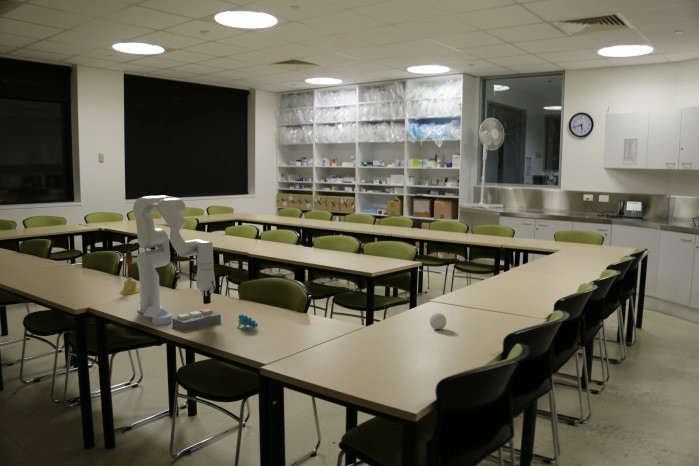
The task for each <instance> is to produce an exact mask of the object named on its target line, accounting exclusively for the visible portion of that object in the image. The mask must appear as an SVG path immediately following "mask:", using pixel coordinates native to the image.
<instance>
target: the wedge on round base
mask: <svg viewBox="0 0 699 466" xmlns="http://www.w3.org/2000/svg"><path fill="white" fill-rule="evenodd" d="M172 315H173V314H172V313H169V312H168V311H166V310H164V308H163V309H161V308H155V307H149V308H148V309H147V310H146V311H145V313H142V316H145V317H148V318H149V317H150V318H151V320H152V321H151V322H152V324H153V325H156V326H162V325H167V324H168V325H169V324H171V323H173V321H172V318H173V317H172Z"/></svg>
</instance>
